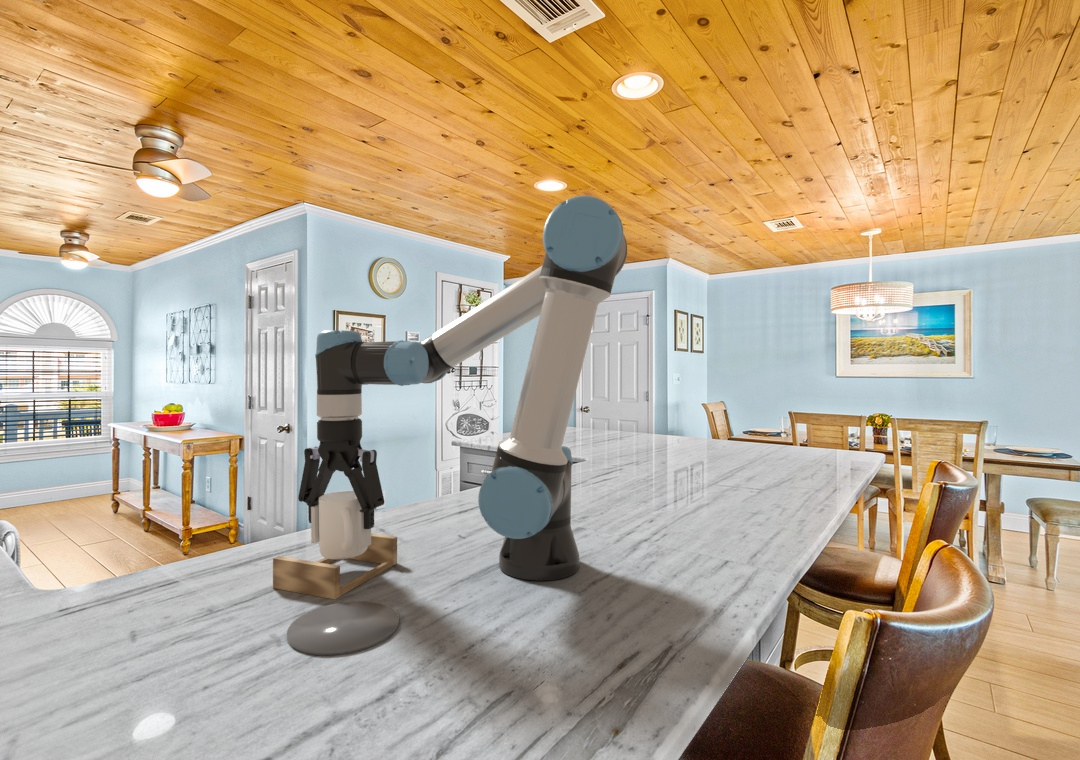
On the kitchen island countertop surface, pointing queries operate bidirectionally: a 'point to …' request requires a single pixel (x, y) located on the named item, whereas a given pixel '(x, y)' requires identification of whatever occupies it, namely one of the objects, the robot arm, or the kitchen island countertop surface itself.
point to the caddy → (331, 570)
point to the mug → (339, 525)
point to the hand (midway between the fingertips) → (341, 543)
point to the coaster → (342, 628)
